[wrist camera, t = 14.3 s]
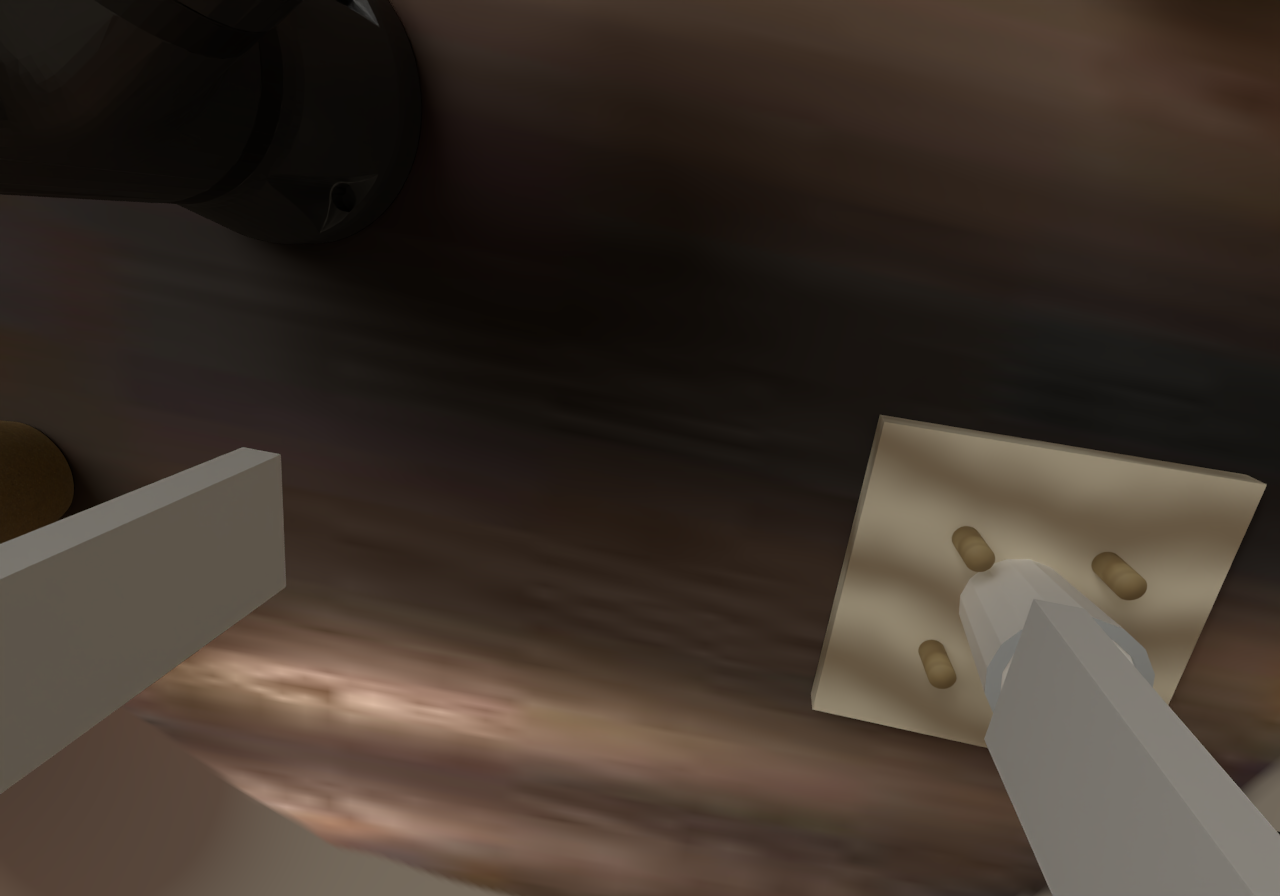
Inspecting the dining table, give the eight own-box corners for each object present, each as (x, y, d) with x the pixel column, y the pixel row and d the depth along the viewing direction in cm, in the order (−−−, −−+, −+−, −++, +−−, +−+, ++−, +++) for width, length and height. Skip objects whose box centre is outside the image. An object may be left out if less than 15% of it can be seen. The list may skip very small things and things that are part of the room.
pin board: (879, 414, 37) (893, 434, 33) (1246, 474, 34) (1305, 503, 30) (810, 693, 42) (815, 738, 38) (1121, 761, 40) (1158, 815, 36)
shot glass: (1002, 523, 36) (1056, 588, 29) (1114, 592, 36) (1194, 672, 29) (919, 618, 38) (952, 698, 31) (1025, 682, 38) (1080, 776, 31)
